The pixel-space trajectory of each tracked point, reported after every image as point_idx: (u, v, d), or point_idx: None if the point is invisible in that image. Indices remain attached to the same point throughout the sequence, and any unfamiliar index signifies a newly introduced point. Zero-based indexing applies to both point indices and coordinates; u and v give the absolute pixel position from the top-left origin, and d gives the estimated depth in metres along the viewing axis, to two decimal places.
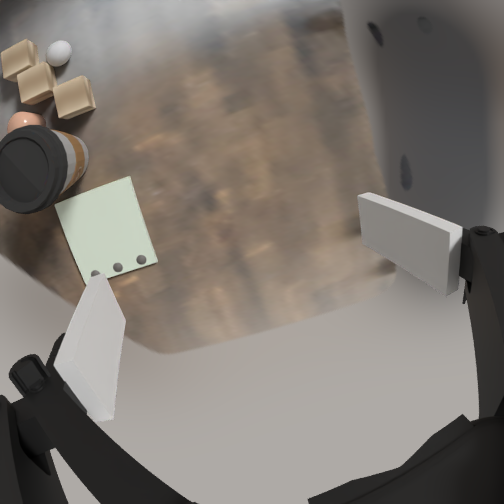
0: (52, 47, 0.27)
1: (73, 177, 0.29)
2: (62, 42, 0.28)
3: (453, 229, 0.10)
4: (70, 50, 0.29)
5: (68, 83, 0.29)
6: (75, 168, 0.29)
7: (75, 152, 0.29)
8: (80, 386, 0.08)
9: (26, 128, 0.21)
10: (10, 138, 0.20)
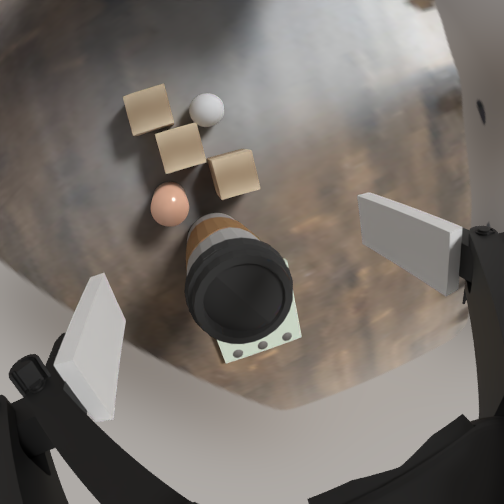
0: (204, 103, 0.28)
1: None
2: (215, 98, 0.29)
3: (453, 229, 0.10)
4: (223, 109, 0.30)
5: (233, 158, 0.30)
6: None
7: None
8: (80, 386, 0.08)
9: (248, 248, 0.23)
10: (232, 263, 0.22)
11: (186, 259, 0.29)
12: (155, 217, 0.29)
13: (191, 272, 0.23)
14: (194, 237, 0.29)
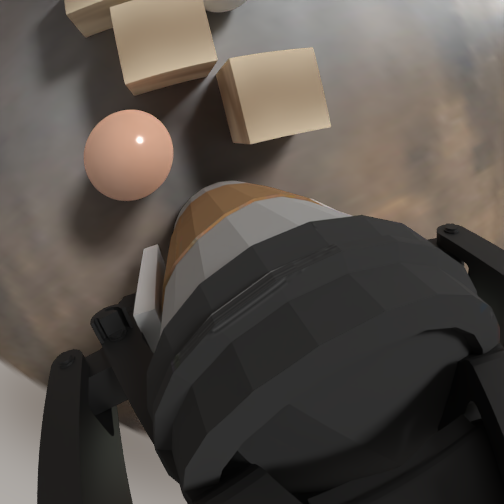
0: None
1: None
2: None
3: None
4: None
5: (276, 57, 0.12)
6: None
7: None
8: (156, 336, 0.10)
9: (413, 259, 0.05)
10: (373, 341, 0.04)
11: None
12: (94, 179, 0.11)
13: (163, 357, 0.05)
14: (184, 226, 0.11)
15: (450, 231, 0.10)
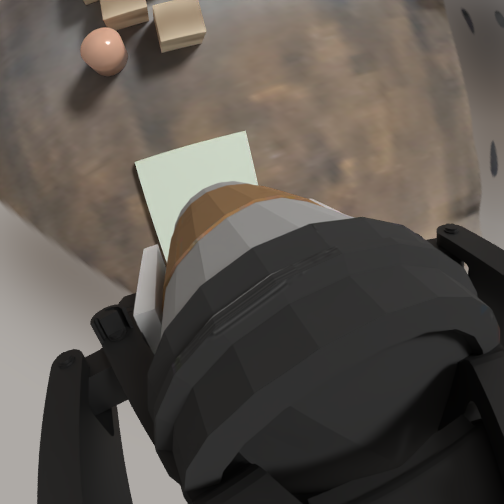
0: None
1: None
2: None
3: None
4: None
5: (176, 2, 0.21)
6: None
7: None
8: (156, 336, 0.10)
9: (413, 261, 0.05)
10: (373, 343, 0.04)
11: None
12: (84, 57, 0.20)
13: (164, 359, 0.05)
14: (185, 227, 0.11)
15: (450, 231, 0.10)
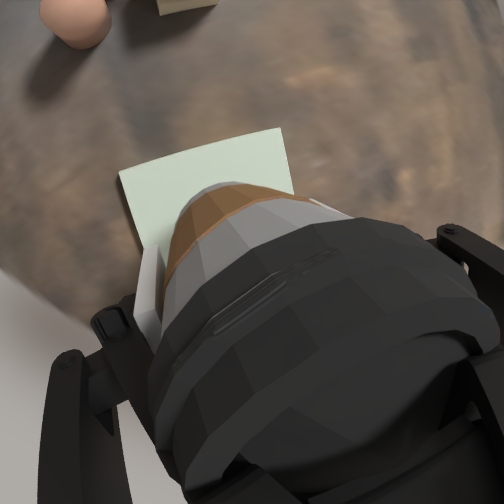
0: None
1: None
2: None
3: None
4: None
5: None
6: None
7: None
8: (157, 336, 0.10)
9: (413, 262, 0.05)
10: (374, 343, 0.04)
11: None
12: (43, 18, 0.11)
13: (164, 360, 0.05)
14: (185, 227, 0.11)
15: (450, 231, 0.10)
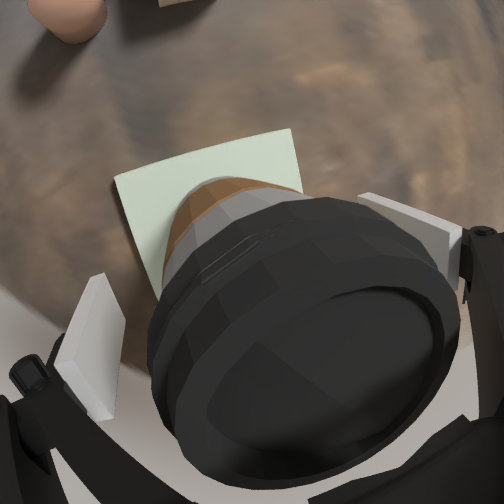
0: None
1: None
2: None
3: (453, 229, 0.10)
4: None
5: None
6: None
7: None
8: (80, 386, 0.08)
9: (367, 230, 0.06)
10: (326, 288, 0.05)
11: None
12: (32, 8, 0.09)
13: (162, 313, 0.07)
14: (183, 214, 0.13)
15: None
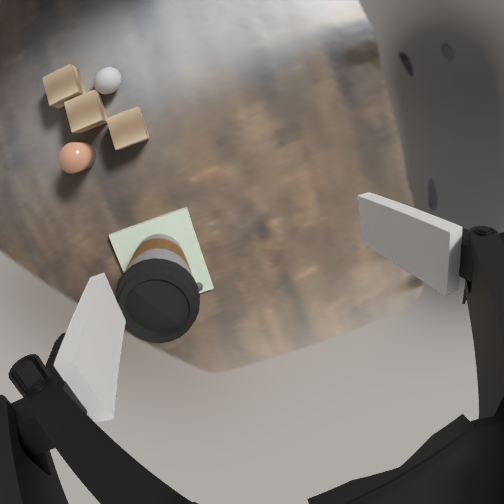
0: (102, 74, 0.31)
1: None
2: (112, 69, 0.31)
3: (453, 229, 0.10)
4: (120, 78, 0.32)
5: (123, 114, 0.32)
6: None
7: (190, 270, 0.35)
8: (80, 386, 0.08)
9: (157, 267, 0.28)
10: (142, 279, 0.27)
11: None
12: (61, 166, 0.31)
13: (118, 286, 0.28)
14: (132, 256, 0.35)
15: None
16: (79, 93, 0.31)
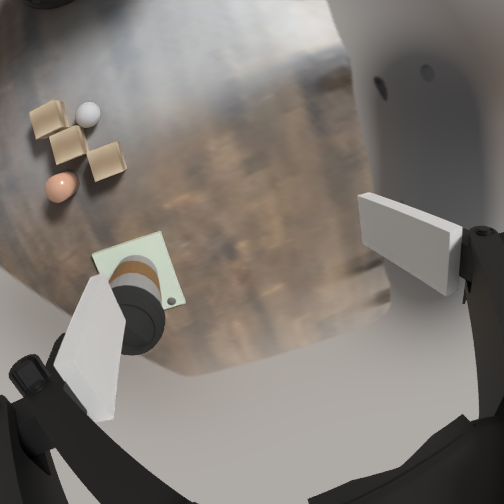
0: (82, 110, 0.34)
1: None
2: (91, 105, 0.35)
3: (453, 229, 0.10)
4: (99, 113, 0.36)
5: (101, 149, 0.36)
6: None
7: (159, 291, 0.39)
8: (80, 386, 0.08)
9: (127, 293, 0.32)
10: None
11: None
12: (48, 196, 0.35)
13: None
14: None
15: None
16: (62, 127, 0.35)
